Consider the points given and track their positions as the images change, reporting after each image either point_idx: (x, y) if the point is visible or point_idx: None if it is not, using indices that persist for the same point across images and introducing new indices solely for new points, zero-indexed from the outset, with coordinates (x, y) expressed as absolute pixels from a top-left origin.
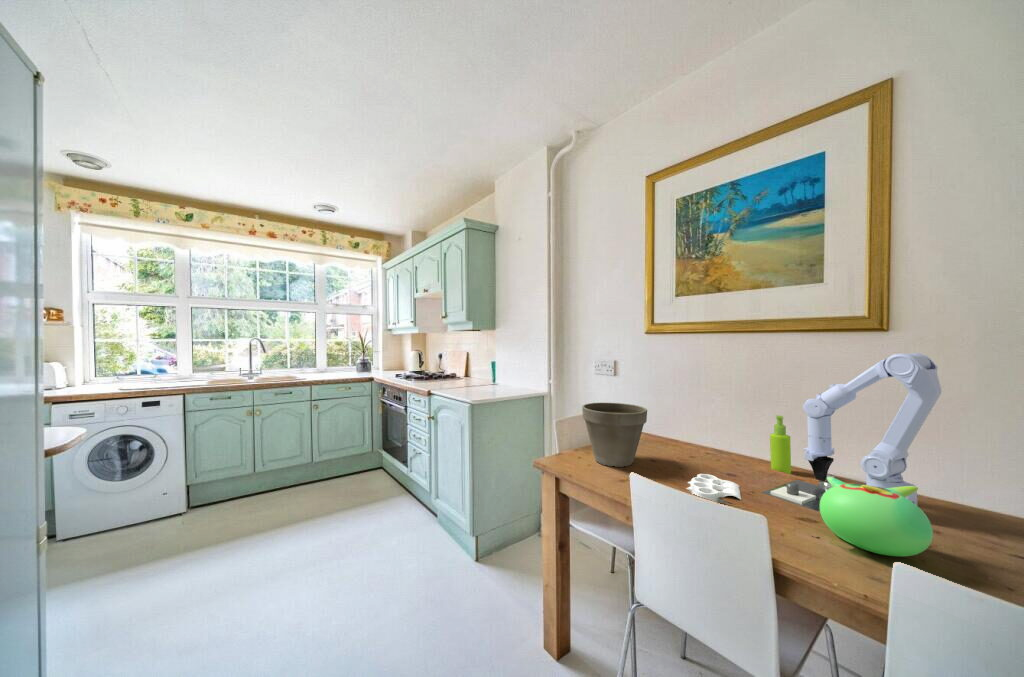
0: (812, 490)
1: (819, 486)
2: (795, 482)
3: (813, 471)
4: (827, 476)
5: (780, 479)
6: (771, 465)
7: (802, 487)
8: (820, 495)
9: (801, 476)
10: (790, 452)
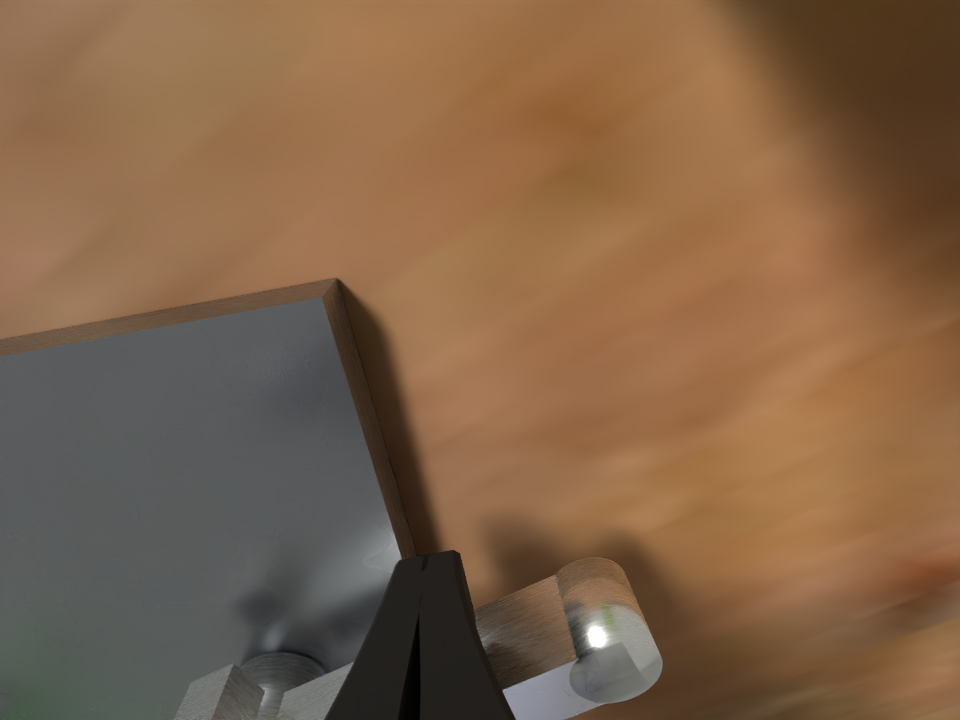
0: (157, 607)
1: (184, 705)
2: (177, 375)
3: (354, 664)
4: None
5: (268, 7)
6: None
7: (108, 525)
8: (120, 698)
9: (781, 46)
10: None
